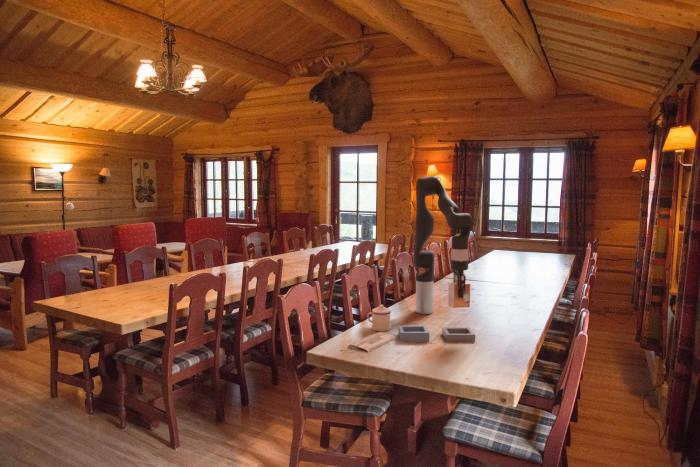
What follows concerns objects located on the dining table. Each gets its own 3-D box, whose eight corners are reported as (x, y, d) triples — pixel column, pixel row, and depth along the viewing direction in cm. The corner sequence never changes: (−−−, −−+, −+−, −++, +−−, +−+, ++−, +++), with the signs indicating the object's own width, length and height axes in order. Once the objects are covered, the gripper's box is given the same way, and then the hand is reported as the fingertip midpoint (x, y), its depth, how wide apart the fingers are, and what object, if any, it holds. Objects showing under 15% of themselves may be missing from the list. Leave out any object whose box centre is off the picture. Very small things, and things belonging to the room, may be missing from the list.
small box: (453, 308, 206) (453, 284, 205) (447, 305, 212) (448, 282, 211) (470, 307, 208) (470, 283, 207) (464, 304, 213) (464, 281, 212)
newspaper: (374, 334, 219) (375, 329, 218) (396, 342, 211) (397, 337, 211) (343, 347, 201) (344, 342, 200) (366, 357, 194) (367, 351, 193)
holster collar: (442, 333, 217) (442, 327, 216) (469, 333, 216) (469, 327, 216) (446, 341, 206) (446, 334, 206) (475, 341, 206) (475, 334, 206)
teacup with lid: (394, 327, 226) (394, 304, 225) (385, 332, 219) (385, 308, 217) (372, 324, 233) (371, 301, 231) (363, 329, 225) (362, 305, 224)
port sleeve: (398, 334, 217) (398, 325, 216) (425, 333, 217) (425, 325, 216) (400, 341, 206) (400, 332, 206) (429, 341, 206) (429, 332, 206)
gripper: (447, 256, 215) (447, 292, 217) (454, 261, 200) (453, 300, 202) (464, 255, 215) (463, 291, 216) (472, 261, 200) (471, 299, 202)
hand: (458, 295), depth 209 cm, fingers closed on small box, 6 cm apart
